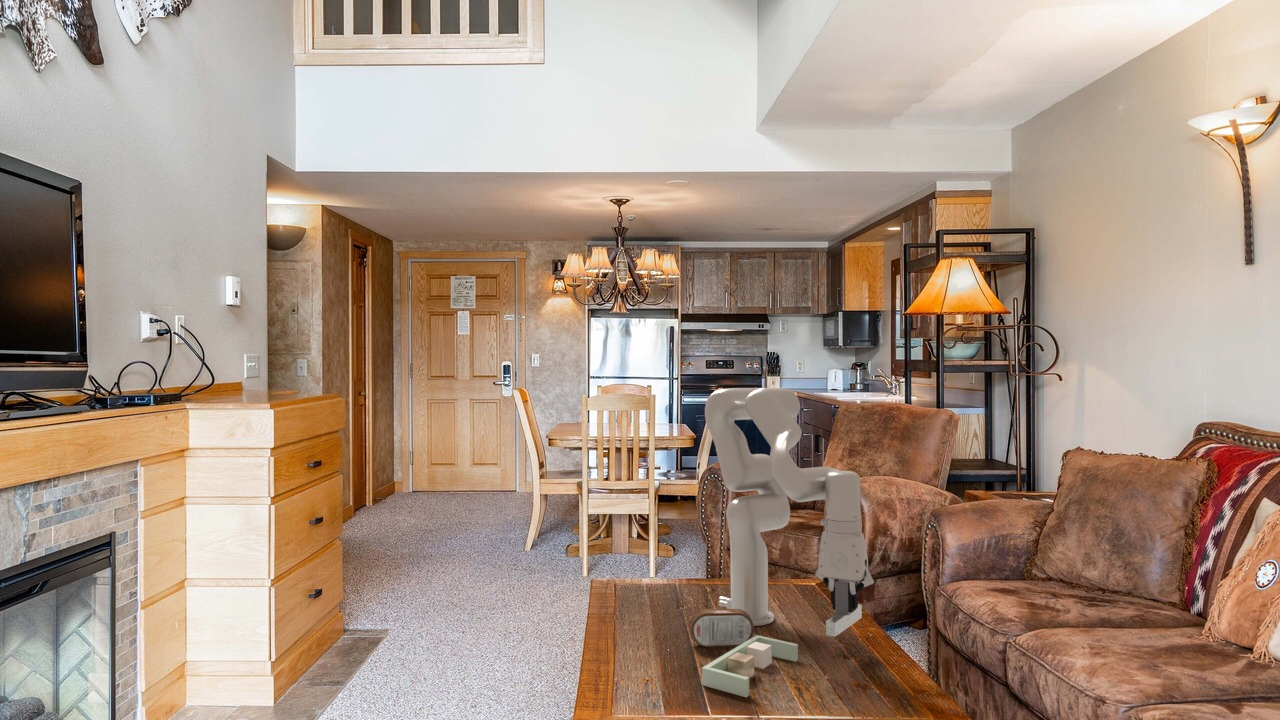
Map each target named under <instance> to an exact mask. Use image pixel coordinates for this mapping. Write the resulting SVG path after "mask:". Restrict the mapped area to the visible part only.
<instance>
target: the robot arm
mask: <svg viewBox="0 0 1280 720" xmlns="http://www.w3.org/2000/svg"><path fill="white" fill-rule="evenodd" d="M800 409H801V404H800V399H799V397H798V396H797V394H796V393H795V392H794V391H793V390H791V389H789V388H786V387H774V388H773V387H731V388H729V387H728V388H722V389H718V390H715V391H713V392H712V393H711V394H710V395H709V396H708V398H707V400H706V402H705V406H704V419H705V422H706V426H707V428H708V431H709V434H710V436H711V438H712V441H713V444H714V446H715V452H716V456H717V459H718V463H719V467H720V472H721V475H722V479H723V483H724V485H725V486H726V488H727V489H728V490H729V491H730V492H735V493H738V492H739V493H740V492H741V493H743V492H751V491H752V492H753V491H757V494H751V495H744V496H739V497H736V498H735V499H733V500H732V501H730V502H729V504H728V505H727V507H726V512H725V513H726V522H727V526H728V527H727V529H728V532H729V542H730V543H729V545H730V547H729V548H730V550H729V551H730V598H729V597H726V596H719V599H718V606H719V607H725V609H741V610H743V611H745V612H747V613H748V614H749V616H750V617H751V619H752V622H753V625H754V627H759V626H761V627H762V626H767V625H769V624H771V623H773V622H774V619H775V614H774V613H773V612H772V611H770V610H769V594H768V593H769V576H768V575H769V569H768V566H769V564H768V563H769V561H768V559H769V558H768V557H769V556H768V555H769V554H768V548H767V545H766V542H765V541H764V539H763V537H762V535H761V533H763V532H768V531H774V530H775V531H776V530H779V529H780V530H781V529H783V528H785V526H787V525H788V523H789V522H790V519H791V509H790V503H789V499H790V500H792V501H795V502H797V503H804V502H812V501H821V500H825V518H823V519H820V521H819V522H820V523H819V524H820V525H821V526H824V529H825V530H824V531H822V533H821V536H820V543H819V551H818V568H817V570H816V572H815V573H814V575H815V576H816V578H818V579H819V580H820V581H823V583H824V584H825V586H826V587H828V588H827V589H828V590H829V592H830V604H831V605H832V610H833V611H835V581H836V580H838V579H839V580H845V581H849V584H850V594H849V595H848V611H849V612H850V613H852V612H854V611H855V610H856V608H857V607H858V604H859V592H860V591H861V590H863V588H865V587H868V586H871V585H873V584H874V583H875V582H874V579H873V577H872V575H871V573H870V571H869V559H868V558H869V557H868V550H867V544H866V540H865V534H864V533H863V532H862V529H861V527H862V526H861V522H862V521H861V478H860V476H859V474H858V473H857V472H855V471H852V470H841V469H840V470H839V469H837V468H835V467H831V466H815V467H805V468H804V467H803V468H799V466H798V465H797V464H796V463H795V461H794V460H793V458H792V456H791V455H790V452H789V451H790V450H791V449H792V448H793V447H795V445H797V443H798V442H799V441H800V440H801V437H802V428H801V427H800V426H799V424H798V423H797V421H796V420H795V418H797V416H798V415H799V412H800ZM739 420H740V421H741V420H743V421H744V420H751V421H753V423H754V424H755V425H756V427H757V429H758V430H759V432H760V433H761V434H762V436H763V438H764V439H765V441H766V442H767V443H768V444H769V447H770V451H769V455H768V454H765V453H754V454H752V453H751V451H750V448H749V446H748V445H749V444H748V440H747V438H746V435H745V434H744V431H742V430H741V429H740V427H739V426H738V425H737V424H736V423H735V421H739ZM788 498H789V499H788ZM863 579H864V580H863ZM862 580H863V581H862ZM860 581H861V582H860Z"/></svg>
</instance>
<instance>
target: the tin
mask: <svg viewBox="0 0 1280 720" xmlns="http://www.w3.org/2000/svg"><path fill="white" fill-rule="evenodd" d="M688 628H689V633H690V635H691V637H692V639H693V641H694V642H695V643H696V644H697V645H698V646H701V647H704V648H727V647H728V648H732V647H733V648H736V647H737V646H739V645H741V644H743V643H744V642H746V641H748V640H749V639H751V638H753V637H754V636H753V635H754V634H755V626H754V625H753V622H752V619H751V617H750V616H749V614H748V613H747V612H745V611H743V610H741V609H727V608H704V609H700V610H698V611H697V612H695V613H694V614H693V616H692V617H691V618H690V620H689V627H688Z"/></svg>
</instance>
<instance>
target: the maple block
mask: <svg viewBox="0 0 1280 720" xmlns="http://www.w3.org/2000/svg"><path fill="white" fill-rule="evenodd" d="M728 672H730V673H734V674H737V675H741V676H745V677H749V679H751V678H752V677H754V676H755V667H754V656H751V655H747V654H742V653H738V652H737V653H735V654H734V655H732V656H731V657H729V658H728Z"/></svg>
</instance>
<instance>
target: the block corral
mask: <svg viewBox="0 0 1280 720" xmlns="http://www.w3.org/2000/svg"><path fill="white" fill-rule="evenodd" d="M754 642H759V643H764V644H768V645H772V657H774V658H777V659H783V660H787V661H791V662H798V660H799V645H798V643H795V642H790V641H785V640H780V639H776V638H772V637H767V636H763V635H758V634H757V635H754V636H752V638H751V639H749V640H748V641H746V642H744V643H743V644H741V645H739V646H737V647H733V649H731V650H729V651H727V652H726V653H724V654H723V655H721V656H719V657H717V658H716V659H714V660H712V661H711V662H708V664H706V665H704V666H702V667H701V686H704V687H707V688H712V689H715V690H719V691H722V692H725V693H729V694H733V695H736V696H740V697H744V698H748V697H749V696H750V678H749V677H745V676H741V675H737V674H734V673H730V672H728V658H729V657H731V656H732V655H734V654H735V653H737V652H738V653H742V654H747V646H749V645H750V644H752V643H754Z"/></svg>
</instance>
